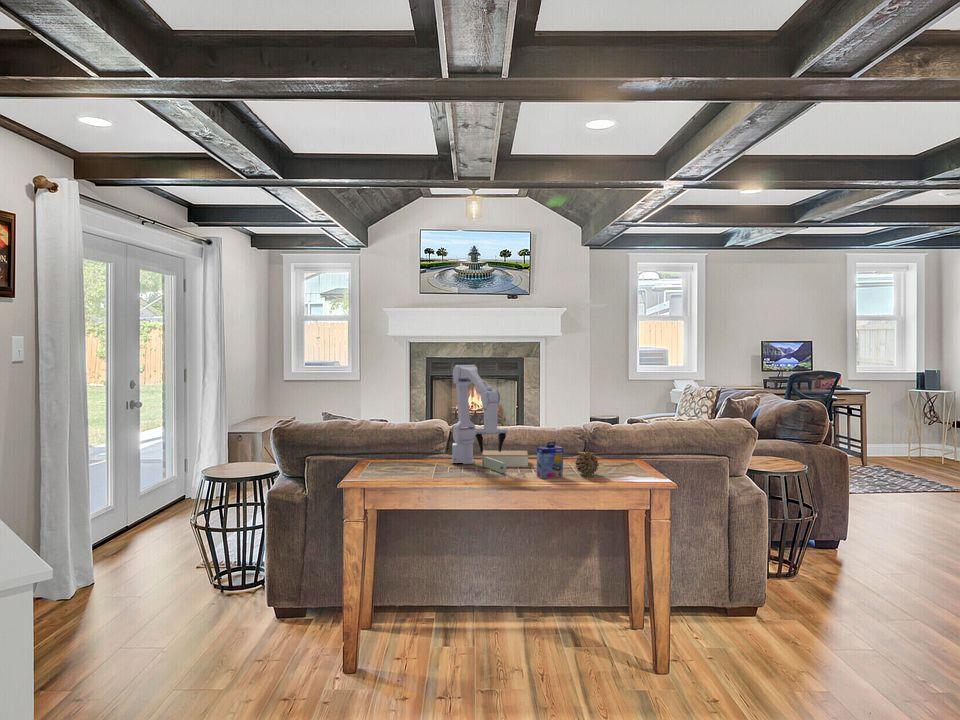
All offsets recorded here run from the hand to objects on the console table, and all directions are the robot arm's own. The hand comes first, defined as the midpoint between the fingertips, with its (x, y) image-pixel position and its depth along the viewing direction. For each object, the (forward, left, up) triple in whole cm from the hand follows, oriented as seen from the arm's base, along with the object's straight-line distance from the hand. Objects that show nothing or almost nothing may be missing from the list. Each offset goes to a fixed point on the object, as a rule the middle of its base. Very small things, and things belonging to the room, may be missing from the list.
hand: (490, 451), depth 277 cm
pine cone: (+39, -2, -9) cm, 40 cm away
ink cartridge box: (+24, -9, -9) cm, 27 cm away
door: (+1, +3, -8) cm, 9 cm away
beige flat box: (+6, +18, -9) cm, 21 cm away
